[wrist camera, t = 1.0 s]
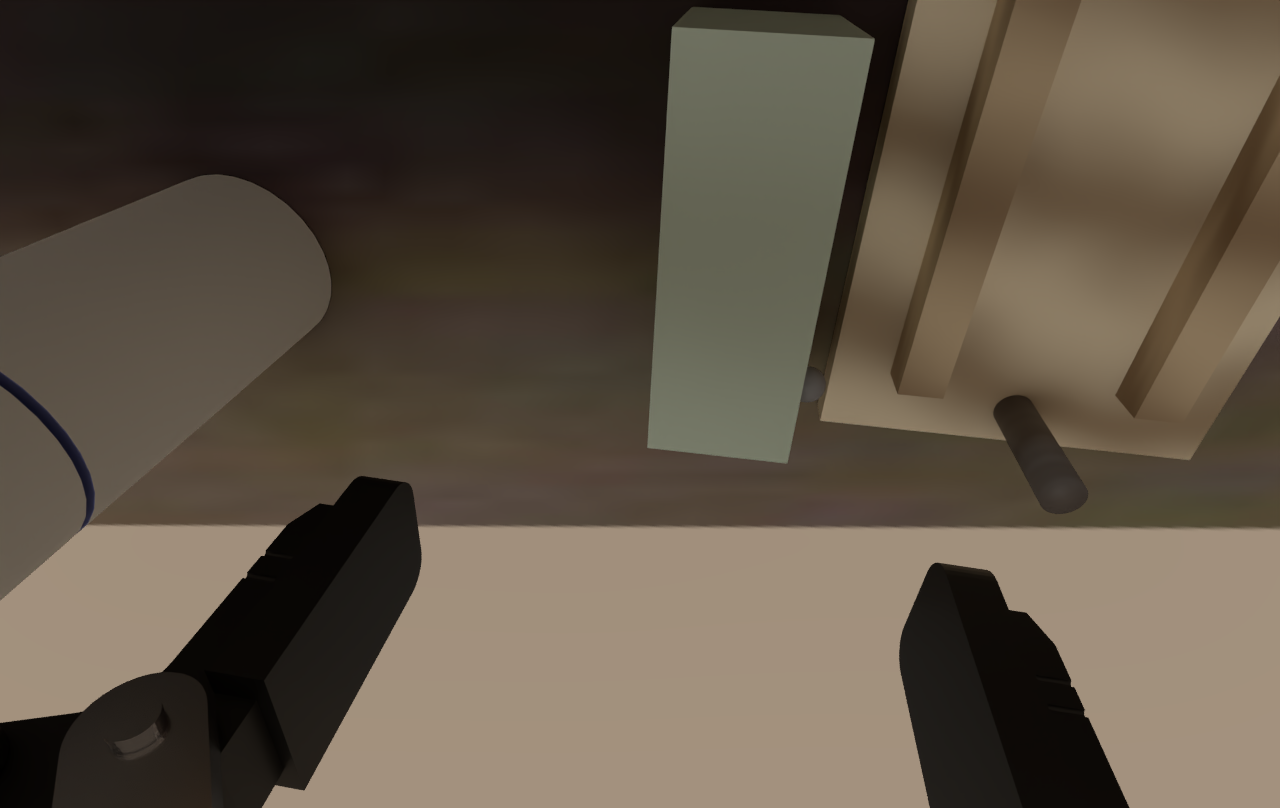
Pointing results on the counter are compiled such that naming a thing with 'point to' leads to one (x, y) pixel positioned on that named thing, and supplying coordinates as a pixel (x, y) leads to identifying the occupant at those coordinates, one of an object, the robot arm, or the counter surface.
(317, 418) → the counter surface
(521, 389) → the counter surface
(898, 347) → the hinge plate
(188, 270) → the cylindrical container
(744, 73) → the rectangular block
